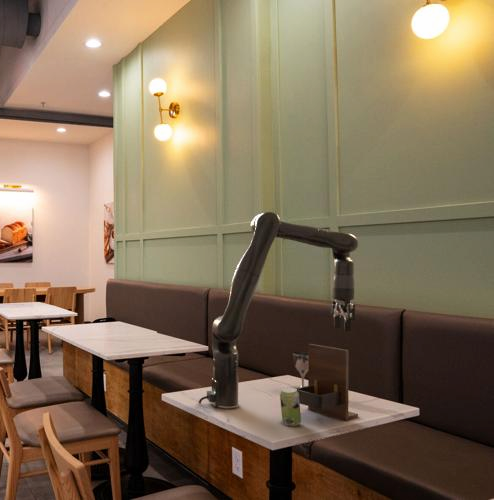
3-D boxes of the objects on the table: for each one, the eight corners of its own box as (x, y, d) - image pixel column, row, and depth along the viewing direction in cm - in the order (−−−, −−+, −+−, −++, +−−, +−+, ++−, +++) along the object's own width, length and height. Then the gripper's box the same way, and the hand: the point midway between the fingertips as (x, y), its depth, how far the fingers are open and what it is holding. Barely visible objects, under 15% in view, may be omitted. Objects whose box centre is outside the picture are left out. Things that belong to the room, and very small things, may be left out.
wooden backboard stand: (325, 426, 169) (326, 353, 169) (288, 414, 181) (288, 346, 182) (358, 417, 179) (358, 348, 179) (320, 406, 192) (320, 342, 192)
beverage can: (304, 423, 171) (304, 387, 171) (295, 429, 166) (295, 392, 166) (285, 419, 175) (286, 384, 175) (276, 424, 170) (276, 388, 170)
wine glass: (307, 392, 212) (307, 356, 212) (289, 388, 218) (289, 353, 218) (316, 389, 218) (316, 353, 218) (298, 385, 223) (298, 351, 224)
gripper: (325, 285, 201) (324, 326, 201) (342, 287, 187) (341, 332, 187) (344, 286, 201) (343, 327, 201) (362, 288, 187) (361, 332, 187)
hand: (342, 329), depth 194 cm, fingers open, 8 cm apart
